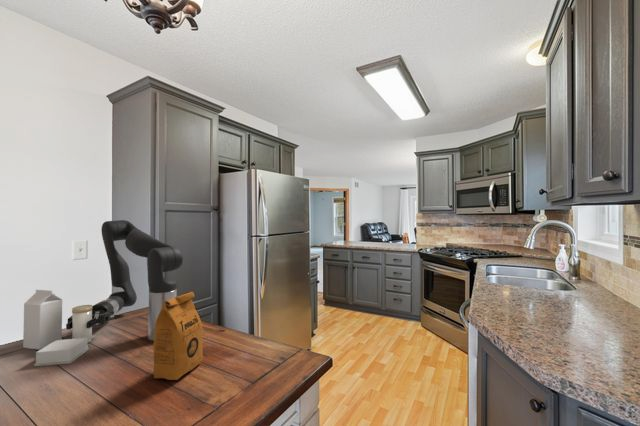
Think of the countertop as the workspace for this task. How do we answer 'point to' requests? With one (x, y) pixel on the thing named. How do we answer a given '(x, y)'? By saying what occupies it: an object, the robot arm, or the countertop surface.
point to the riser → (61, 352)
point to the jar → (81, 322)
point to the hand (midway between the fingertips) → (78, 325)
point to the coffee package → (177, 338)
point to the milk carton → (42, 320)
